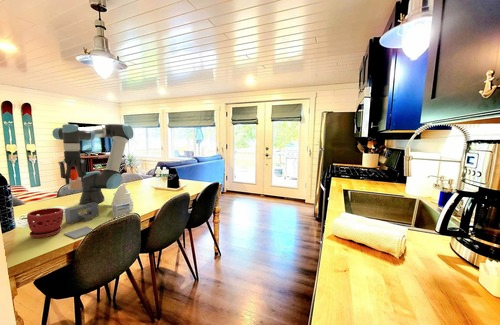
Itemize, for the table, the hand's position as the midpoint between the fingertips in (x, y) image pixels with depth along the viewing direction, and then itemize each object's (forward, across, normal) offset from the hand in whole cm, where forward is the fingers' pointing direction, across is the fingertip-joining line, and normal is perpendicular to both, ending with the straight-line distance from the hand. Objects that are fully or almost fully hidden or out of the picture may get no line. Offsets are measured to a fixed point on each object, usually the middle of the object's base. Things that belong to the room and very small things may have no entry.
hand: (74, 188), depth 129 cm
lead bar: (+18, 0, +8) cm, 20 cm away
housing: (+18, 0, +7) cm, 19 cm away
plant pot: (+18, +20, +14) cm, 30 cm away
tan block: (0, 0, +1) cm, 1 cm away
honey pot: (+18, -22, +12) cm, 31 cm away
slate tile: (+18, +11, +28) cm, 35 cm away
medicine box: (+18, -12, +26) cm, 34 cm away
